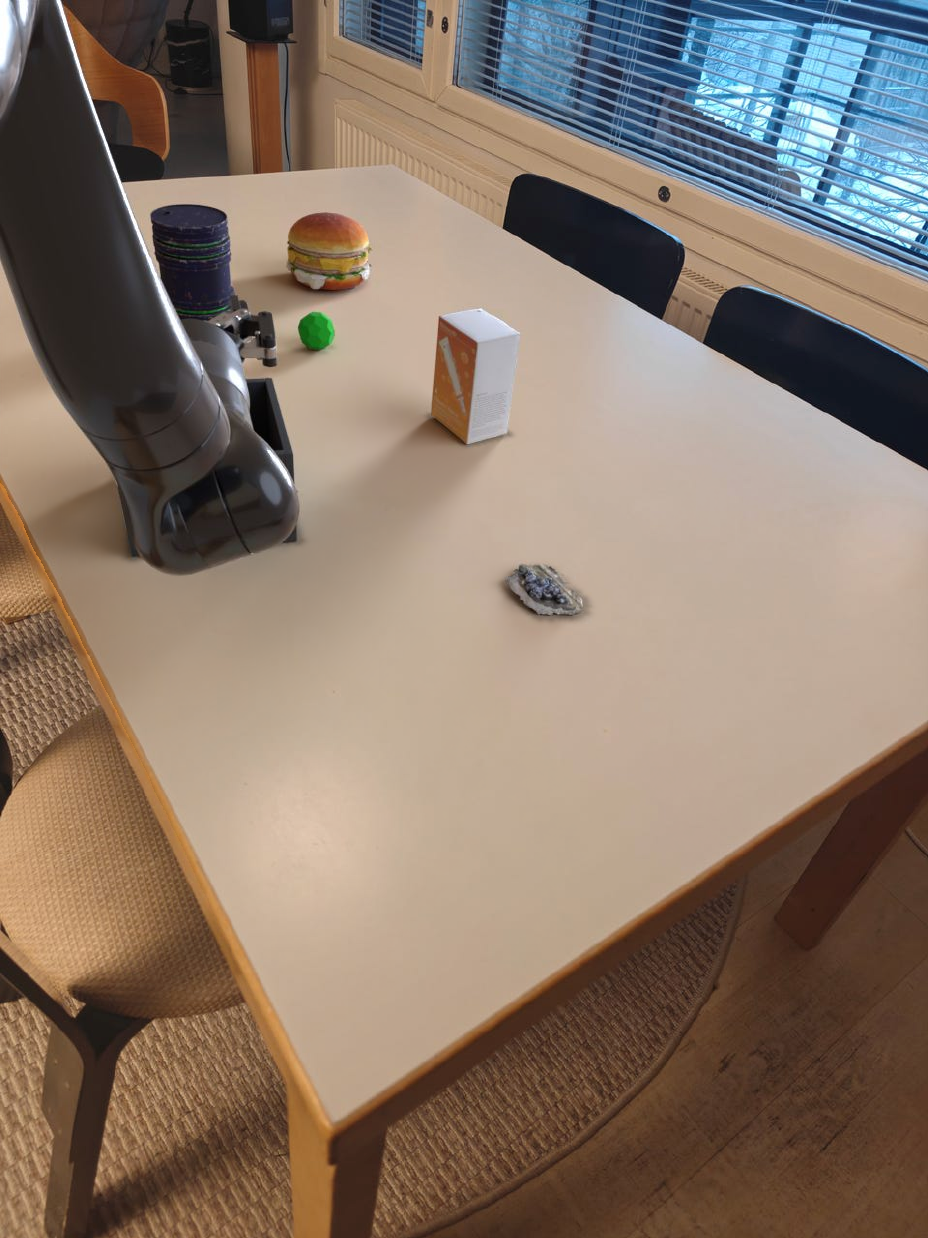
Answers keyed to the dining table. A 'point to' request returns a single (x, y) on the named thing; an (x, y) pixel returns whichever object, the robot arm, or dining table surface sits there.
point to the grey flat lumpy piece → (544, 590)
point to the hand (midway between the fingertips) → (185, 305)
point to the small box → (474, 374)
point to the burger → (328, 251)
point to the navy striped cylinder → (194, 259)
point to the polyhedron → (316, 331)
